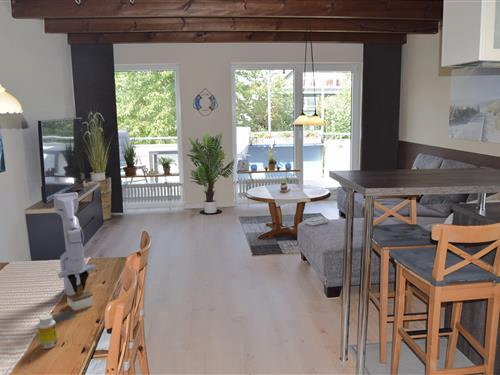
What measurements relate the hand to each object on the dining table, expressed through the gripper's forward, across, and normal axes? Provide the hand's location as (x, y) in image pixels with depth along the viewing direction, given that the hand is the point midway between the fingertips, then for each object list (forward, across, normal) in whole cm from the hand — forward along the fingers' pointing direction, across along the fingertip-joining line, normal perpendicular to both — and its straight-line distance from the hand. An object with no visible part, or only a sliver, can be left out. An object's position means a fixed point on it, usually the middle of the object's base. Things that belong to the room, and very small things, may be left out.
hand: (79, 290), depth 185 cm
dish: (+7, 0, 0) cm, 7 cm away
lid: (+2, 0, 0) cm, 2 cm away
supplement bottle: (+7, -20, -24) cm, 32 cm away
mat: (+7, -9, -6) cm, 12 cm away
